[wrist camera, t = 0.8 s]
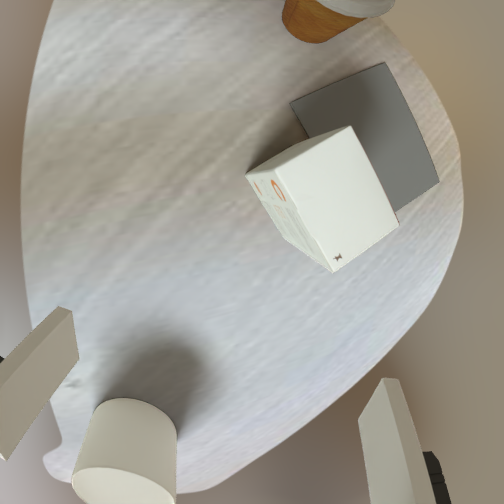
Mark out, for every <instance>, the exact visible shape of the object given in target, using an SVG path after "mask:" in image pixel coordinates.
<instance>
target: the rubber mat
mask: <svg viewBox="0 0 504 504" xmlns="http://www.w3.org/2000/svg"><path fill="white" fill-rule="evenodd" d="M290 105H291V107H292V109H293V110H294V112H295V114H296V115H297V117H298V119H299V121H300V123H301V124H302V126H303V128H304V130H305V131H306V133H307V135H308V137H309V139H310V138H313V137H316V136H319V135H322V134H324V133H327V132H330V131H333V130H336V129H339V128H342V127H345V126H352V128H353V130H354V132H355V134H356V135H357V137H358V139H359V141H360V143H361V145H362V147H363V148H364V150H365V152H366V154H367V156H368V158H369V160H370V162H371V164H372V166H373V168H374V170H375V172H376V174H377V176H378V178H379V180H380V182H381V184H382V186H383V188H384V190H385V192H386V195H387V197H388V199H389V201H390V203H391V206H392V208H393V210H394V212H396V211H398V210H399V209H401V208H402V207H403V206H405V205H406V204H408V203H409V202H411V201H412V200H414V199H415V198H417V197H418V196H420V195H421V194H423V193H424V192H426V191H427V190H429V189H430V188H431V187H433V186H434V185H436V184H437V183H439V179H438V176H437V173H436V171H435V168H434V165H433V163H432V160H431V158H430V155H429V153H428V150H427V148H426V145H425V143H424V141H423V138H422V136H421V134H420V131H419V129H418V127H417V125H416V122H415V120H414V118H413V116H412V114H411V112H410V109H409V107H408V105H407V103H406V101H405V99H404V97H403V95H402V93H401V91H400V89H399V87H398V85H397V84H396V82H395V80H394V78H393V76H392V74H391V72H390V71H389V69H388V67H387V65H386V63H383V64H380V65H378V66H375V67H372V68H370V69H367V70H365V71H362V72H360V73H357V74H355V75H352V76H350V77H347V78H345V79H343V80H340V81H338V82H336V83H333V84H331V85H329V86H326V87H324V88H322V89H320V90H317V91H315V92H313V93H311V94H309V95H306V96H304V97H302V98H300V99H298V100H296V101H294V102H292V103H290Z"/></svg>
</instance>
